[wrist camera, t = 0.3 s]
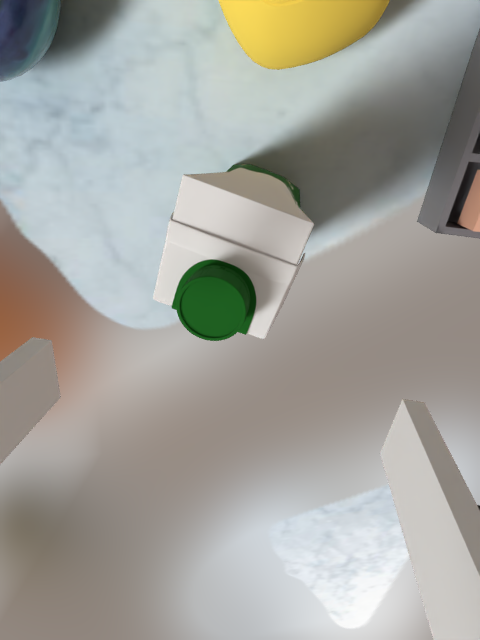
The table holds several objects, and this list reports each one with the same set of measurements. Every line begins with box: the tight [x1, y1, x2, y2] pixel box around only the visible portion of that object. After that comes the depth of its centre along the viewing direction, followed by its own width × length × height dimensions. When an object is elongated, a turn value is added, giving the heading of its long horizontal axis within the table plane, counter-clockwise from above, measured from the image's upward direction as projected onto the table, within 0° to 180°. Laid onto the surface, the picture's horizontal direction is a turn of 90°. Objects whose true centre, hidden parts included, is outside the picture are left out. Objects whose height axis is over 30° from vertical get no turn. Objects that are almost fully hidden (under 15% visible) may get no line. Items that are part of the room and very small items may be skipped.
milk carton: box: [153, 164, 314, 341], centre depth 28 cm, size 9×9×20 cm
